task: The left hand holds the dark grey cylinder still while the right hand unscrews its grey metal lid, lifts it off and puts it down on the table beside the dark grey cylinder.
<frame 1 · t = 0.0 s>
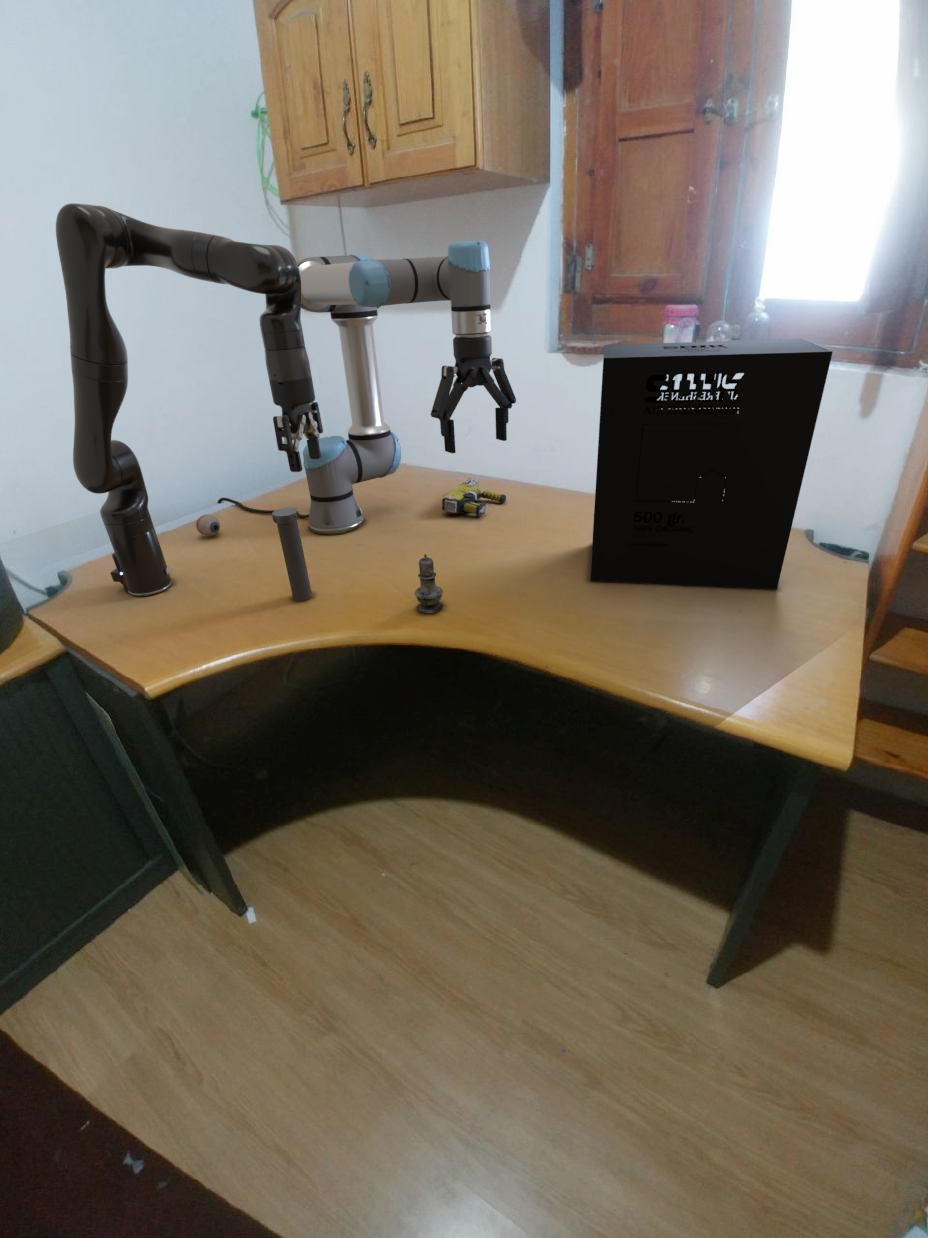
left hand: (306, 464, 116), 29 cm above the table, tool pointing down, fingers open, 8 cm apart
right hand: (476, 445, 127), 28 cm above the table, tool pointing down, fingers open, 13 cm apart
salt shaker: (430, 607, 125), on the table
lid: (285, 513, 123), point 19 cm above the table, screwed on, not yet turned
eyeball: (211, 536, 167), on the table
cardboard box: (676, 565, 136), on the table
dark grey cylinder: (302, 597, 132), on the table
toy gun: (478, 504, 178), on the table
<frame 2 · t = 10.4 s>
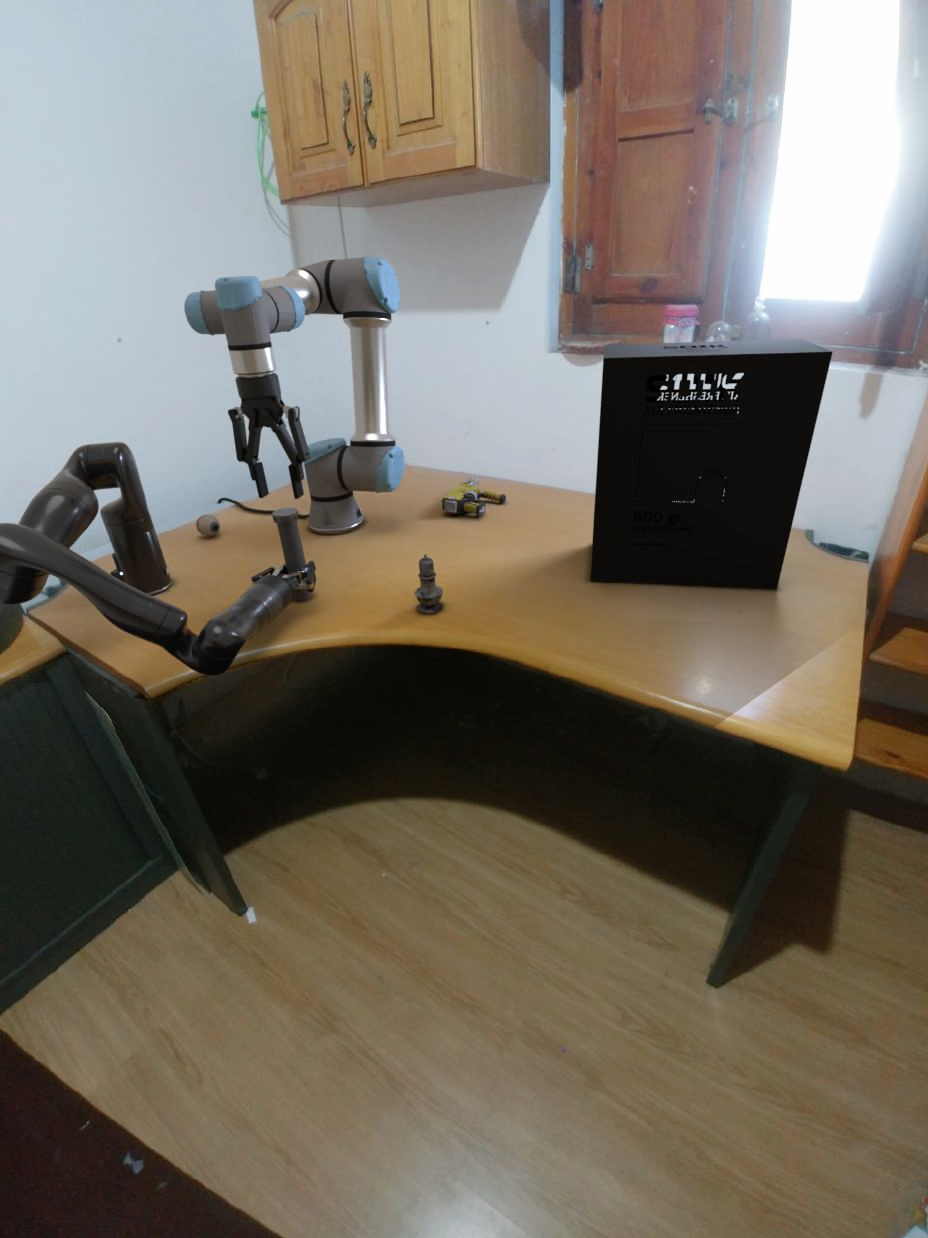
left hand: (302, 564, 131), 7 cm above the table, tool horizontal, fingers closed on dark grey cylinder, 4 cm apart
right hand: (281, 496, 121), 23 cm above the table, tool pointing down, fingers open, 7 cm apart
dark grey cylinder: (302, 597, 132), on the table, touching left hand
everything else where it was.
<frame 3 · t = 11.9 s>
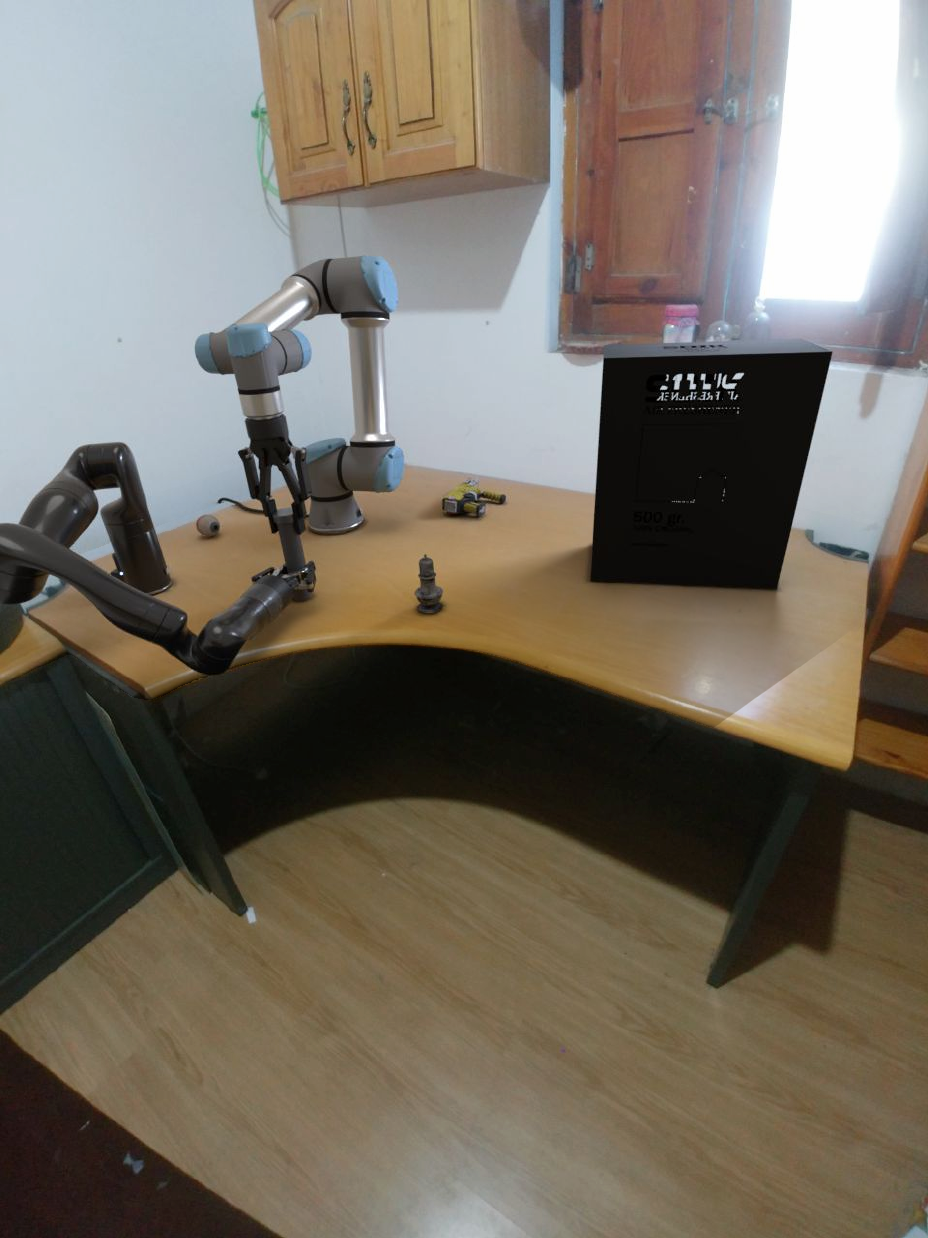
left hand: (302, 564, 131), 7 cm above the table, tool horizontal, fingers closed on dark grey cylinder, 4 cm apart
right hand: (289, 531, 124), 15 cm above the table, tool pointing down, fingers closed on lid, 5 cm apart
lid: (285, 513, 123), point 19 cm above the table, screwed on, not yet turned, touching right hand
dark grey cylinder: (302, 597, 132), on the table, touching left hand
everything else where it was.
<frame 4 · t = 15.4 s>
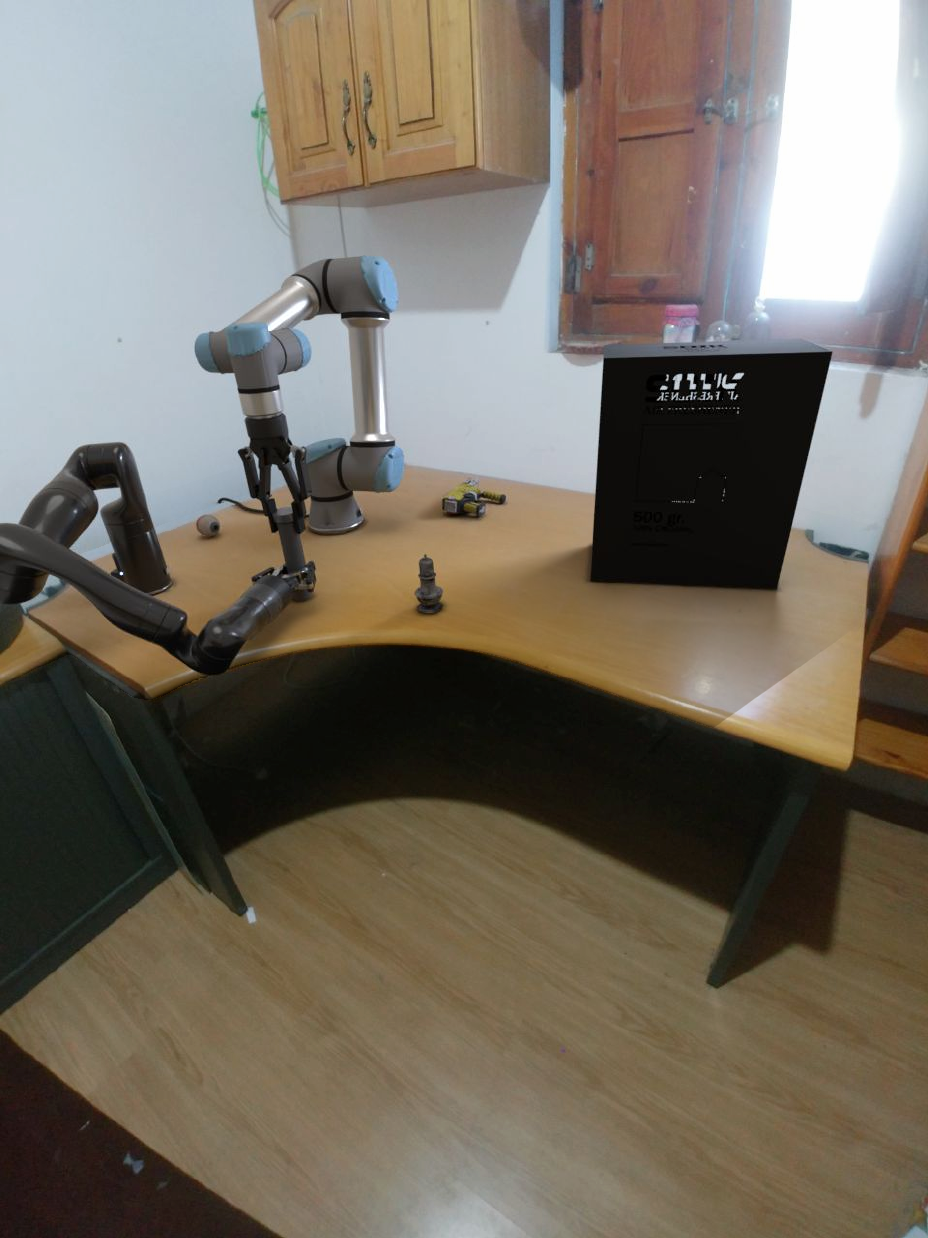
left hand: (302, 564, 131), 7 cm above the table, tool horizontal, fingers closed on dark grey cylinder, 4 cm apart
right hand: (288, 530, 124), 16 cm above the table, tool pointing down, fingers closed on lid, 5 cm apart
lid: (285, 512, 122), point 19 cm above the table, turned 106° so far, risen 0.2 cm, still on its thread, touching right hand
dark grey cylinder: (302, 597, 132), on the table, touching left hand
everything else where it was.
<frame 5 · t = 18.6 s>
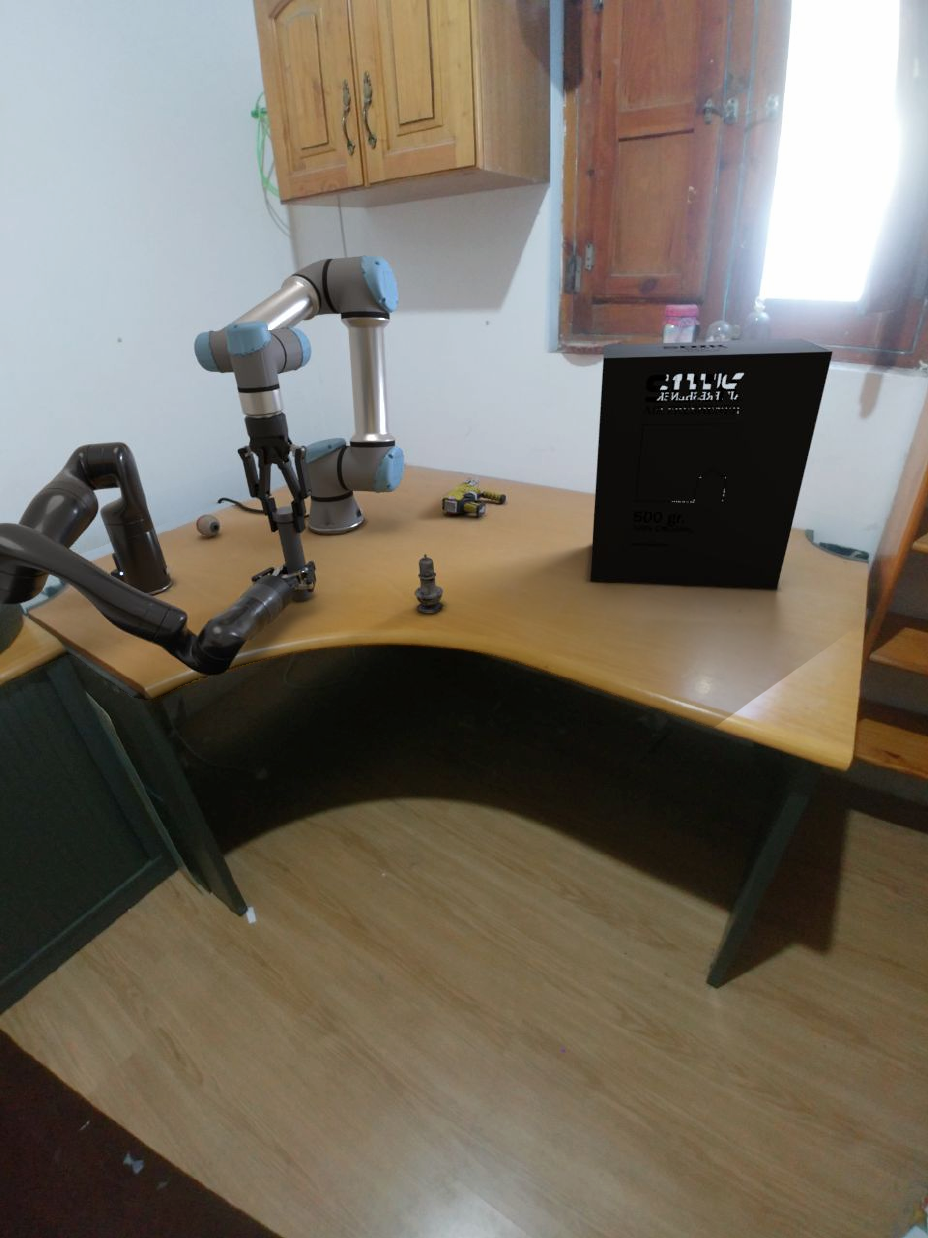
left hand: (302, 564, 131), 7 cm above the table, tool horizontal, fingers closed on dark grey cylinder, 4 cm apart
right hand: (288, 530, 124), 16 cm above the table, tool pointing down, fingers closed on lid, 5 cm apart
lid: (284, 511, 122), point 20 cm above the table, turned 213° so far, risen 0.3 cm, still on its thread, touching right hand
dark grey cylinder: (302, 597, 132), on the table, touching left hand
everything else where it was.
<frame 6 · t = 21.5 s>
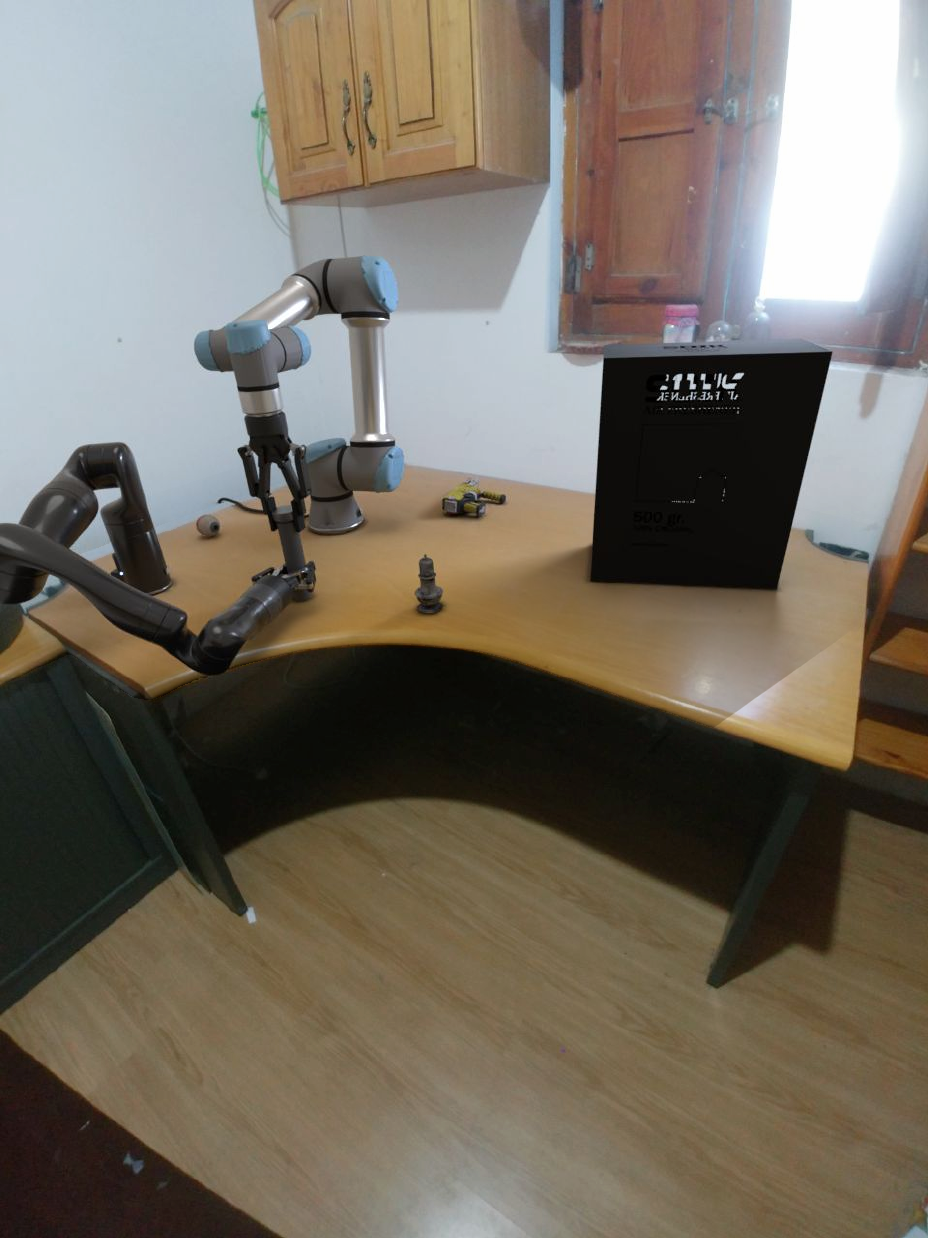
left hand: (302, 564, 131), 7 cm above the table, tool horizontal, fingers closed on dark grey cylinder, 4 cm apart
right hand: (288, 529, 124), 16 cm above the table, tool pointing down, fingers closed on lid, 5 cm apart
lid: (284, 511, 122), point 20 cm above the table, turned 319° so far, risen 0.5 cm, still on its thread, touching right hand
dark grey cylinder: (302, 597, 132), on the table, touching left hand
everything else where it was.
when the right hand's fingers open (0 cm above the table, at t = 29.7 s): lid drops 3 cm, point 1 cm above the table.
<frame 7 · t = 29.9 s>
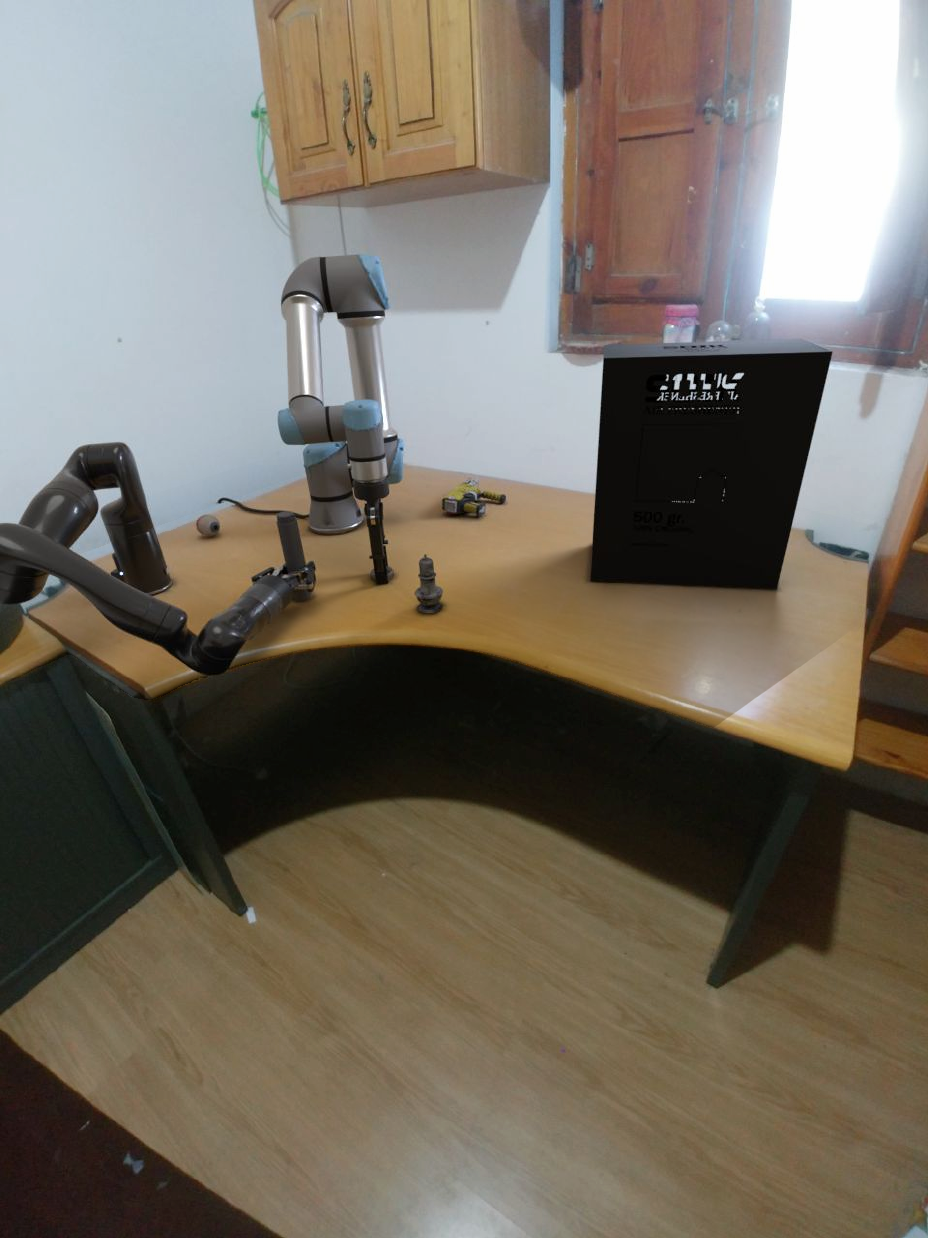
left hand: (302, 564, 131), 7 cm above the table, tool horizontal, fingers closed on dark grey cylinder, 4 cm apart
right hand: (382, 577, 139), 0 cm above the table, tool pointing down, fingers open, 5 cm apart
lid: (382, 572, 138), point 1 cm above the table, off its thread, touching right hand
dark grey cylinder: (302, 597, 132), on the table, touching left hand
everything else where it was.
when the left hand's fingers open (7 cm above the table, at t = 30.9 s): dark grey cylinder stays where it is, on the table.
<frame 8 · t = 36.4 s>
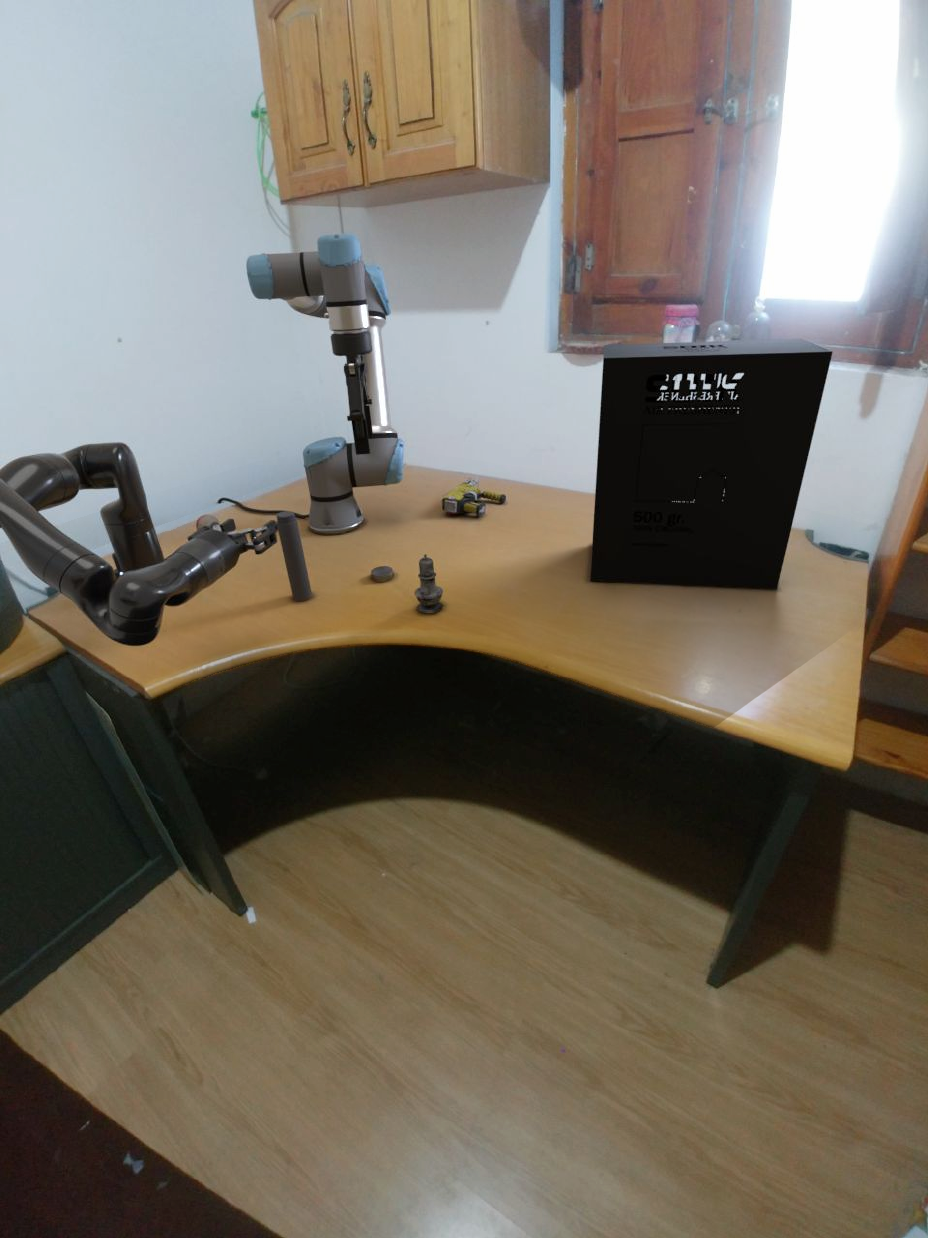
left hand: (253, 524, 112), 21 cm above the table, tool horizontal, fingers open, 8 cm apart
right hand: (365, 445, 124), 30 cm above the table, tool pointing down, fingers open, 13 cm apart
lid: (382, 572, 138), point 1 cm above the table, off its thread
dark grey cylinder: (302, 597, 132), on the table
everything else where it was.
at the end: lid came off its thread; lid point 1.3 cm above the table; the left hand is holding nothing; the right hand is holding nothing; dark grey cylinder tilted 0°; dark grey cylinder moved 0.0 cm from its start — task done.
